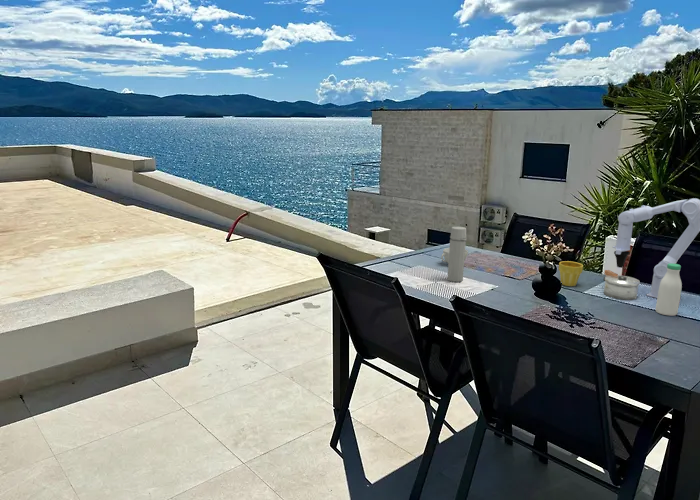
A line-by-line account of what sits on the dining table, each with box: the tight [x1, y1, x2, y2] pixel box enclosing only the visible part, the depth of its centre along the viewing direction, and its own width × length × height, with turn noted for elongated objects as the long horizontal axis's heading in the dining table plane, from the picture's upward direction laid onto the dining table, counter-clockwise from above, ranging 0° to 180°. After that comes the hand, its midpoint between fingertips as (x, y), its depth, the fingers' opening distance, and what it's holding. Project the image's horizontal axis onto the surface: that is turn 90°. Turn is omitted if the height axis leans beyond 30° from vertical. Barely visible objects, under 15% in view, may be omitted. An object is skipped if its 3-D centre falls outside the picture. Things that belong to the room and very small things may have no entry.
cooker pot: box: [603, 276, 639, 301], centre depth 241 cm, size 18×13×6 cm
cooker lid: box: [604, 269, 640, 287], centre depth 240 cm, size 19×14×2 cm
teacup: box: [440, 247, 469, 264], centre depth 280 cm, size 15×12×8 cm
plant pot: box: [558, 260, 584, 287], centre depth 252 cm, size 10×10×10 cm
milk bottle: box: [655, 263, 683, 317], centre depth 215 cm, size 8×8×20 cm
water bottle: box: [447, 226, 468, 283], centre depth 252 cm, size 9×8×25 cm
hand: (619, 267), depth 247 cm, fingers closed
